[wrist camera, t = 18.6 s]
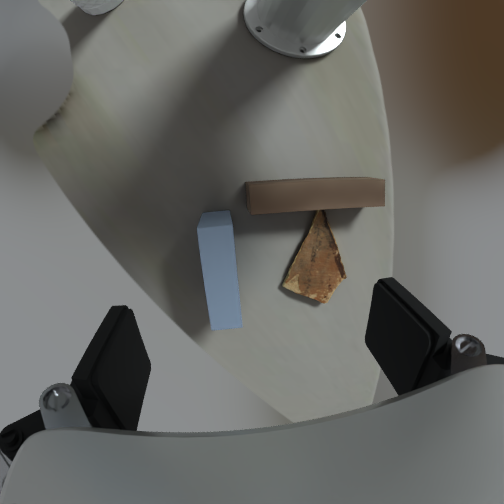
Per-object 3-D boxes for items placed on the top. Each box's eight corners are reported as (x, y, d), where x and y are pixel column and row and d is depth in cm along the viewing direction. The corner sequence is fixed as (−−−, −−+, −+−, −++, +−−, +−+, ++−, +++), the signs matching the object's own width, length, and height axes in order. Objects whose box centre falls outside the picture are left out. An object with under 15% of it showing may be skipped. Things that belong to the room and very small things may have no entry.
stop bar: (245, 182, 30) (249, 184, 26) (367, 177, 31) (384, 179, 27) (247, 208, 31) (251, 215, 27) (367, 201, 32) (384, 206, 28)
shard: (317, 202, 32) (322, 204, 30) (365, 228, 34) (372, 231, 32) (278, 282, 35) (281, 288, 33) (327, 301, 36) (332, 307, 34)
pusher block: (212, 294, 34) (211, 330, 26) (202, 212, 30) (196, 228, 23) (237, 291, 34) (242, 327, 26) (229, 209, 31) (232, 224, 23)
